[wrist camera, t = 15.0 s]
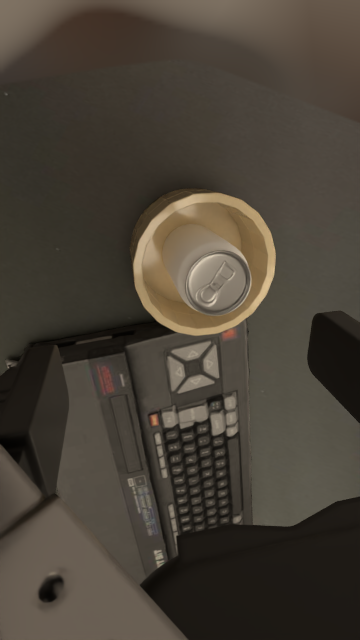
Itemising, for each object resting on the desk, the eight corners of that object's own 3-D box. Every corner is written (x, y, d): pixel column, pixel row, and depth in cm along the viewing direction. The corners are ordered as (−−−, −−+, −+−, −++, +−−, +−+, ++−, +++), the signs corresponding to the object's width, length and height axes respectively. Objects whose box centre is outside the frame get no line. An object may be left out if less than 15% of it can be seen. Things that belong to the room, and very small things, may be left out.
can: (149, 258, 38) (163, 294, 27) (185, 210, 37) (214, 228, 26) (193, 290, 41) (222, 334, 30) (228, 246, 39) (271, 275, 28)
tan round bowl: (124, 191, 35) (126, 196, 28) (249, 185, 37) (281, 189, 30) (135, 311, 41) (140, 342, 34) (243, 301, 43) (269, 328, 36)
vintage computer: (252, 523, 60) (269, 571, 53) (89, 561, 58) (83, 617, 51) (238, 299, 43) (261, 324, 36) (4, 340, 41) (-23, 376, 33)
